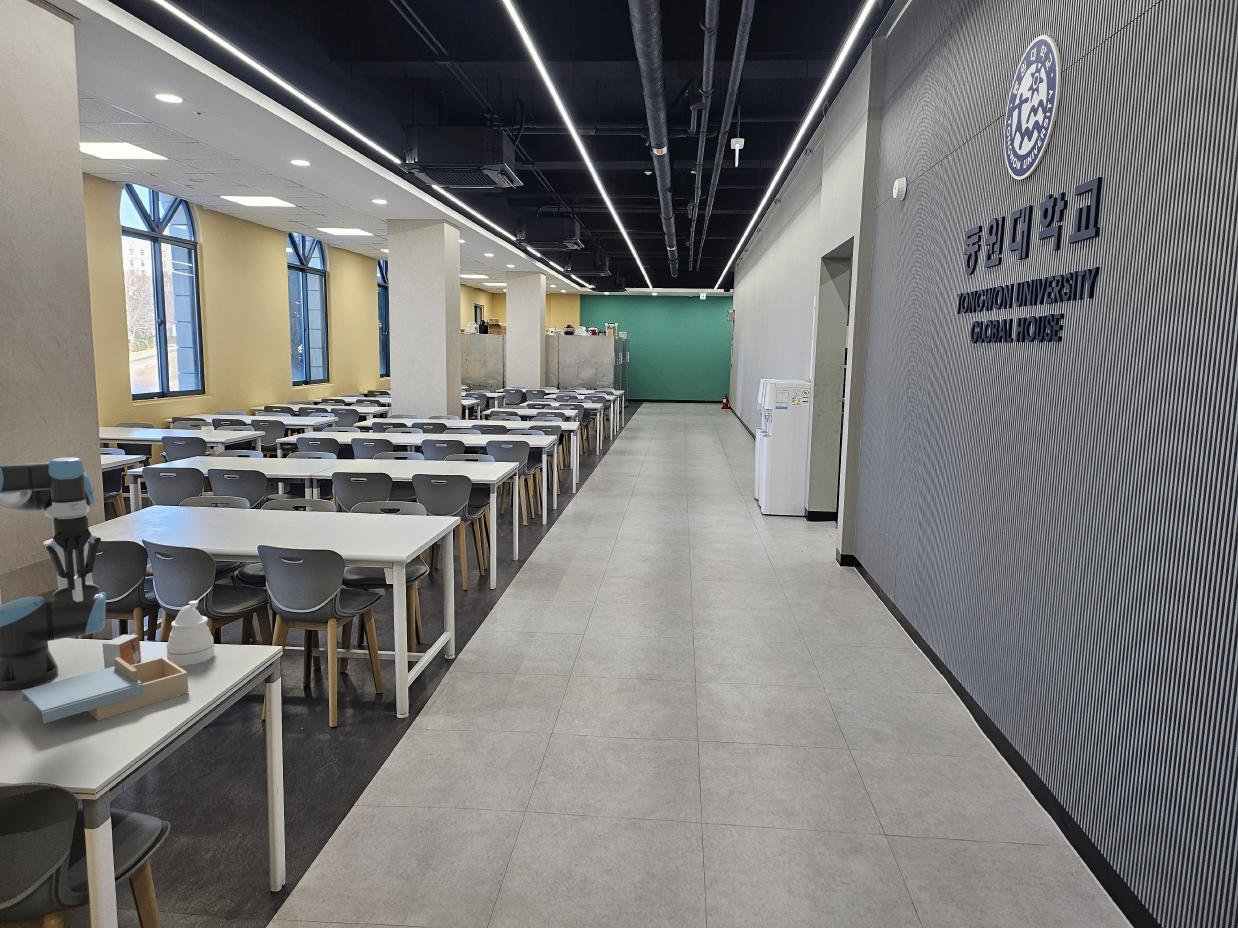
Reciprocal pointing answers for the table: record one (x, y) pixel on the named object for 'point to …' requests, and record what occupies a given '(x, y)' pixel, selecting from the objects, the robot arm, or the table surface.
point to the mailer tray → (149, 687)
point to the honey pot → (190, 637)
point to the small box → (122, 650)
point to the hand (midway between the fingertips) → (78, 600)
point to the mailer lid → (85, 691)
